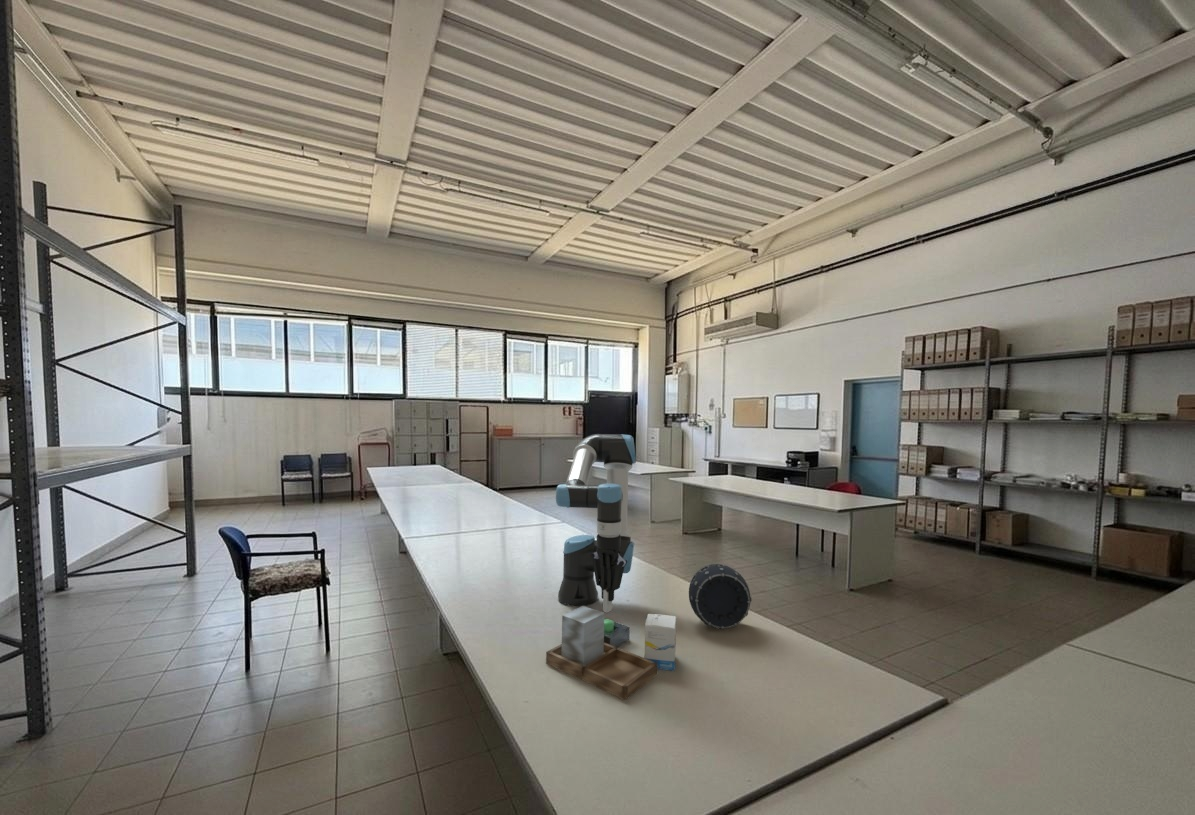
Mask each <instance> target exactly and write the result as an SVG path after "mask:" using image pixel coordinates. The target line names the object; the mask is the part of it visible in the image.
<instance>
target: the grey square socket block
mask: <svg viewBox="0 0 1195 815" xmlns="http://www.w3.org/2000/svg"><path fill="white" fill-rule="evenodd" d="M604 619H606V618H605V617H604ZM612 621H613V622H614V630H613V631H611V632H609V633H608V632H605V631H604V643H607V644H609V645H612V646H615V647H617V648H619V647H622V645H624V644H626V643H627V642H629V641H630V632H631V631H630V630H631V628H630V626H628V625H625V624H622V623H620V622H617V621H614V620H612Z"/></svg>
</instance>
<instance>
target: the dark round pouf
mask: <svg viewBox="0 0 1195 815" xmlns="http://www.w3.org/2000/svg"><path fill="white" fill-rule="evenodd" d="M688 600H689V604H690V606H691V609H692V611H693V612H694V614H695V615H696V616H697V618H698V619H699V620H700V621H702V623H704V626H709V627H712V628H716V629H719V630H724V629H729V628H733V627H737V626H738V625H739V624H740V623H741V622H742V621H743V620H744V619H745V618H746V617H747V616H748V615H749V610H750V606H751V604H752V600H753V599H752V596H751V591H750V588H749V584H748V582H747V581H746V580H745V579H744V577H743V575H742V574H740V573H739V572H738V571H737V570H736V569H734V568H732V567H730V566H729V565H726V564H721V563H714V564H713V563H712V564H708V565H705V566H703V567H701V568H700V569H699V570H697V571H696V573H695V574H694V575H693V576H692V578H691V580H690V583H689V587H688Z"/></svg>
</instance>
